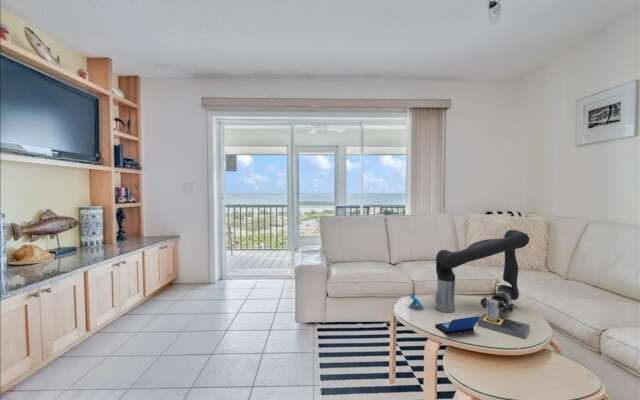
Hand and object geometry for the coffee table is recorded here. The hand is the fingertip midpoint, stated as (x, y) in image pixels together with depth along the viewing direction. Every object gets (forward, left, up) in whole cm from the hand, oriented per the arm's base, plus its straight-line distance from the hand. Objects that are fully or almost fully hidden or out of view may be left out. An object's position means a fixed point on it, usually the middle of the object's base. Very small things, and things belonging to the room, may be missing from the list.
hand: (493, 308), depth 156 cm
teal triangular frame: (-38, -4, -9) cm, 40 cm away
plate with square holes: (+5, 0, -8) cm, 10 cm away
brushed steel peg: (0, 0, -8) cm, 9 cm away
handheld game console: (-11, -18, -9) cm, 24 cm away
